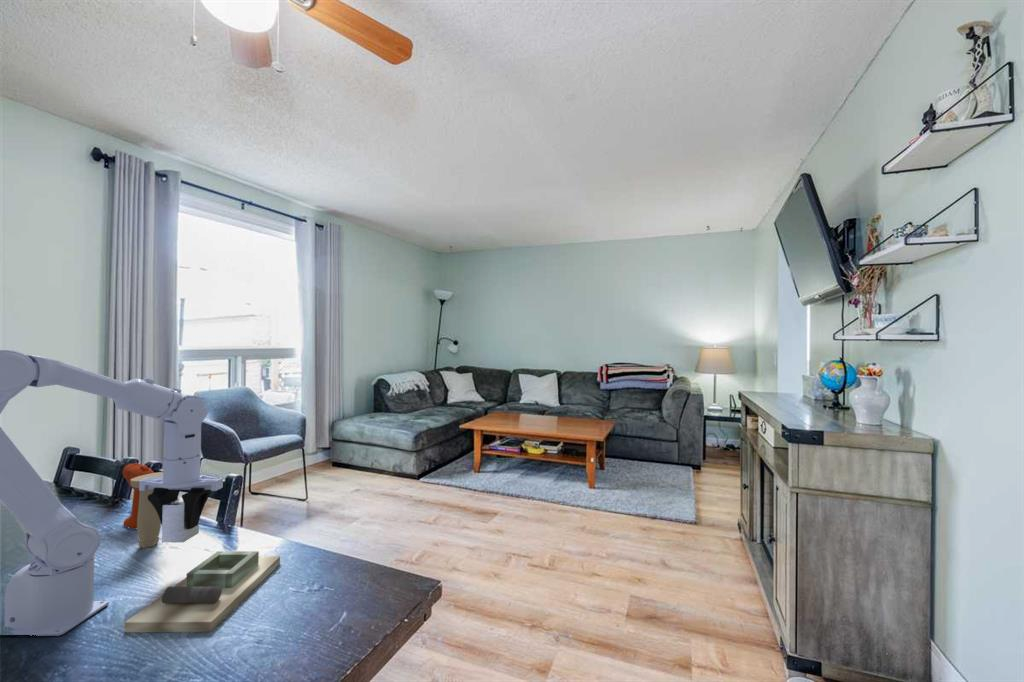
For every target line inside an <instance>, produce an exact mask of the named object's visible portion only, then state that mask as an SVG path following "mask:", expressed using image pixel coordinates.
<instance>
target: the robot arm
mask: <svg viewBox="0 0 1024 682" xmlns="http://www.w3.org/2000/svg"><path fill="white" fill-rule="evenodd" d="M155 382H156V381H155V379H152V378H149V377H143V378H142V379H140V378H132V379H130V380H126V381H121V380H119V379H114V378H112V377H109V376H106V375H103V374H100V373H98V372H94V371H91V370H89V369H85V368H82V367H79V366H77V365H74V364H72V363H71V364H70V363H68V362H65V361H61V360H58V359H53V358H48V357H43V356H40V355H33V354H24V353H22V352H19V351H16V350H13V349H12V350H11V349H0V415H1V413H3V410H4V409H5V407H6V406H7V405H8V404H9V401H10V400H11V399H13V398H14V397H16V396H17V395H18V394H19V393H21V392H22V391H23V390H25V389H26V388H28V387H34V388H42V387H47V386H48V387H49V386H56V385H57V386H60V387H64V388H68V389H74V390H77V391H81V392H84V393H87V394H88V393H89V394H93V395H97V396H101V397H105V398H109V399H112V401H113V402H114V404H115V406H116V408H117V409H119V410H122V411H124V412H125V411H126V412H129V413H133V414H137V415H140V416H145V417H149V418H152V419H155V420H156V419H157V420H161V421H162V422H163V447H162V448H163V449H162V450H163V454H162V455H163V456H162V457H163V458H162V472H163V477H153V478H146V479H143V480H140V481H139V491H145V490H147V489H149V490H153V493H152V494H150V495H148V500H149V501H150V502H151V504H152V505H153V506H154V508H155V509H156V511H157V513H158V516H159V518H160V521H161V526H162V514H163V505H164V504H166V503H168V502H171V501H173V500H175V499H177V498H179V494H180V492H181V490H182V491H183V490H184V491H185V490H187V492H186V493H183V494H182V495H181V498H182V499H183V501H184V504H185V509H186V526H187V529H192V528H194V527H195V526H197V525H198V523H199V524H200V520H201V519H200V518H201V515H202V512H203V510H204V508H205V505H206V503H207V501H208V500H209V498H210V496H211V494H212V493H213V492H217V491H218V490H219V491H220V490H221V489H222V488H223V485H224V477H215V476H214V477H213V476H207V475H202V473H201V454H202V453H201V452H202V451H201V449H202V448H201V447H202V445H201V444H202V423H203V421H205V419H206V418H207V415H208V413H209V408H208V407H207V406H206V402H205V401H204V400H203V399H202V398H201V397H199V396H196V395H191V394H184V393H182V389H180V388H177V387H173V388H169V387H165V386H162V385H159V384H156V383H155ZM189 490H190V491H189ZM0 503H1V504H2V506H3V507H4V508H5V509H6V510H7V511H8V512H9V514H10V515H11V516H12V517H13V518H14V519H15V521H16V522H17V525H18V527H19V528H20V529H21V530H22V532H23V534H24V537H25V540H24V545H25V549H26V550H27V552H28V553H29V554H32V555H34V558H33V559H32V560H31V563H29V564H27V565H24V566H23V567H22V568H21V569H18V571H17V572H16V573H14V574H13V576H12V577H11V578H10V580H9V581H8V583H7V586H6V588H5V592H4V593H5V595H4V596H5V597H4V627H5V626H6V627H11V628H13V629H15V630H14V631H15V632H14V634H19V635H30V636H31V637H34V636H35V635H36V636H37V637H42V636H43V637H47V636H48V637H53V636H56V637H58V636H61V635H64V634H66V633H67V632H69V631H70V630H71V629H73V628H75V627H77V626H78V625H79V624H81V623H82V622H84V621H85V620H87V619H89V618H90V617H91V616H93V615H94V614H96V613H97V612H99V611H100V610H103V608H105V607H106V606H108V605H109V604H110V601H109V600H94V599H95V597H94V596H95V595H94V592H95V590H94V589H95V554H96V553H97V551H98V550H99V547H100V545H101V540H102V536H101V533H100V532H99V531H98V529H96V528H95V527H93V526H91V525H89V524H88V525H87V524H85V523H83V522H81V521H79V519H78V518H77V517H76V516H75V515H74V514H73V513H72V512H71V511H70V510H69V509H68V508H66V507H65V505H63V503H62V502H61V501H60V500H59V499H58V497H57V496H56V495H55V493H54V492H53V491H52V489H50V487H49V486H48V485H47V483H46V482H45V481H44V480H43V479H42V477H41V476H40V475H39V473H38V472H37V471H36V470H35V469H34V467H33V466H32V464H31V463H30V462H29V461H28V460H27V458H26V457H25V456H24V454H23V453H22V452H21V451H20V450H19V448H18V447H17V446H16V444H14V442H13V441H12V439H11V438H10V437H9V435H7V433H6V432H5V431H4V429H3V428H2V427H1V426H0ZM32 635H34V636H32ZM30 636H29V637H30ZM36 636H35V637H36Z"/></svg>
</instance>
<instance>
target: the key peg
mask: <svg viewBox="0 0 1024 682" xmlns="http://www.w3.org/2000/svg"><path fill="white" fill-rule="evenodd" d="M199 533H200V522H199V523H198V525H197V526H195V527H194V528H192V529H187V526H186V509H185V504H184V501H183V499H182V497H178V498H177V499H175V500H173V501H171V502H168V503H166V504H164V505H163V514H162V525H161V543H185V542H187V541H188V540H190V539H192V538H193V537H195V536H196V535H199Z"/></svg>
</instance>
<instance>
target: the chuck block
mask: <svg viewBox="0 0 1024 682" xmlns="http://www.w3.org/2000/svg"><path fill="white" fill-rule="evenodd" d="M280 564H281V556H280V555H279V556H278V555H277V556H274V555H271V556H269V555H267V556H262V555H261V556H260V555H259V551H258V550H257V551H256V550H255V551H253V550H250V551H243V550H242V551H233V550H231V551H230V550H229V551H222V550H220V551H218V550H217V551H216V552H214V553H213V554H211V555H210V556H209V557H208V558H206V559H205V560H203V561H202V562H201V563H200V564H198V565H197V566H195V567H194V568H192V569H191V570H190V571H188V572H187V573H186V577H185V578H183V579H182V580H180V581H179V582H177V583H176V584H175V585H174V586H168V587H166V589H165V590H164V591H163V593H162V594H161V595H160V596H159V597H157V598H155V600H152V601H151V603H149V604H147V606H145V607H144V608H142V609H141V610H140V611H139V612H137V613H136V614H134V615H133V616H131V617H130V618H129V619H127V620H126V621H125V622H124V633H201V632H202V633H204V632H205V633H208V632H210V633H211V632H212V631H213V630H214V629H216V628H217V626H219V625H220V623H222V621H223V620H224V619H225V618H227V617H228V616H229V615H230V614H231V613H232V612H233V611H234V610H235V609H236V608H237V607H238V606H239V605H240V604H241V603H242V602H243V601H244V600H245V599H246V598H247V597H248V596H249V595H250V594H251V593H252V592H253V591H254V590H255V589H256V588H257V587H258V586H259V585H260V584H261V583H262V582H263V581H264V580H265V579H267V577H269V576H270V575H271V574H272V573H273V572H274V571H275V569H276V568H278V566H280Z"/></svg>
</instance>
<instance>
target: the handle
mask: <svg viewBox="0 0 1024 682" xmlns="http://www.w3.org/2000/svg"><path fill="white" fill-rule="evenodd" d="M153 477H163V471H159V472H154V473H151V474H146V475H142V476H138V477H135V478H132V479H131V481H130V484H131V486H132V487H135V488H139V481H140V480H143V479H146V478H153ZM130 484H129V485H130ZM131 486H130V487H131ZM132 487H131V488H132ZM152 493H153V490H149V489H147V490H145V491H140V496H139V508H138V517H137V529H136V532H137V533H136V534H137V539H138V543H137V544H138V547H139V548H142V549H145V548H150V547H154V546H155V545H157V544H158V543H159V542H160V533H161V528H162V525H161V521H160V518H159V516H158V513H157V511H156V509H155V508H154V506H153V505H152V504H151V502H150V501H149V500H148V495H150V494H152Z"/></svg>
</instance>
